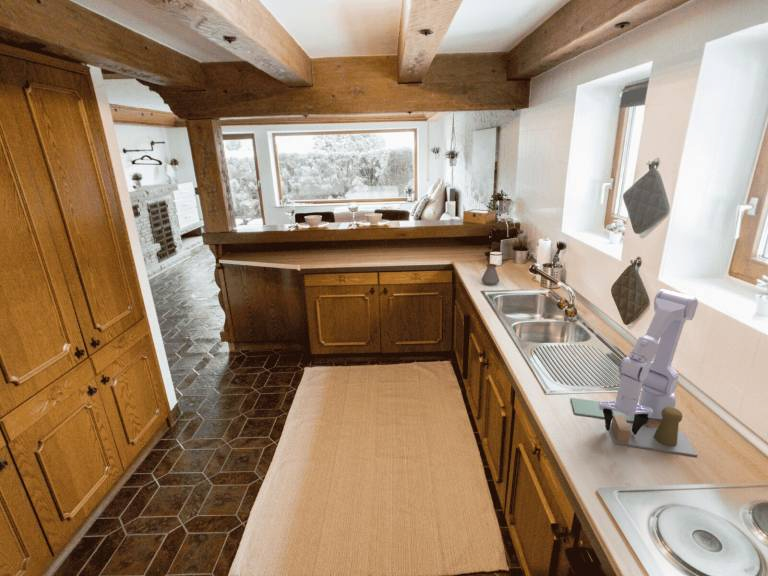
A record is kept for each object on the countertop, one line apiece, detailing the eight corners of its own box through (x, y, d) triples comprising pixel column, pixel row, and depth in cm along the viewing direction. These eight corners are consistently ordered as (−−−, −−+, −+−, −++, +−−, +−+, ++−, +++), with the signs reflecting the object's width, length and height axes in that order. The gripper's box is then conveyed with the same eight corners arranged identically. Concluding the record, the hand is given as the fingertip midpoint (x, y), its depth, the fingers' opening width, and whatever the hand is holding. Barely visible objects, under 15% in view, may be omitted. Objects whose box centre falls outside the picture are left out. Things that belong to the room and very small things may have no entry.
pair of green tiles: (638, 407, 141) (639, 406, 141) (647, 424, 133) (647, 422, 133) (570, 399, 146) (570, 397, 146) (574, 414, 138) (575, 413, 138)
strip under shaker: (683, 434, 128) (686, 422, 126) (697, 456, 119) (701, 444, 117) (607, 423, 134) (609, 411, 132) (614, 444, 125) (617, 431, 123)
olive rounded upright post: (668, 432, 128) (675, 403, 124) (681, 446, 122) (690, 416, 119) (649, 433, 128) (656, 404, 124) (662, 446, 122) (670, 416, 118)
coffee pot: (500, 286, 260) (502, 264, 255) (482, 286, 260) (484, 264, 255) (493, 276, 280) (495, 255, 275) (477, 276, 280) (478, 255, 275)
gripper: (605, 398, 122) (598, 435, 126) (659, 405, 118) (650, 442, 122) (600, 385, 128) (593, 420, 133) (651, 391, 124) (643, 427, 129)
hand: (620, 430), depth 128 cm, fingers open, 7 cm apart
